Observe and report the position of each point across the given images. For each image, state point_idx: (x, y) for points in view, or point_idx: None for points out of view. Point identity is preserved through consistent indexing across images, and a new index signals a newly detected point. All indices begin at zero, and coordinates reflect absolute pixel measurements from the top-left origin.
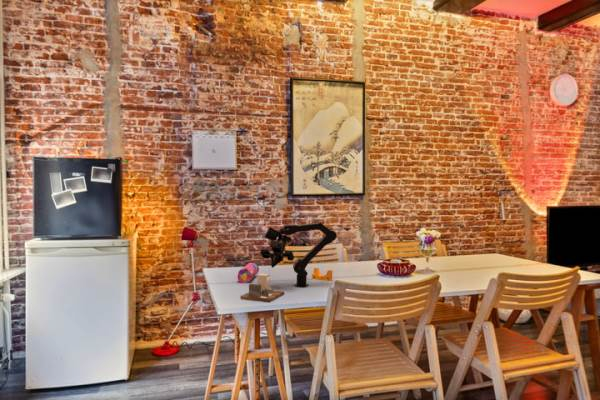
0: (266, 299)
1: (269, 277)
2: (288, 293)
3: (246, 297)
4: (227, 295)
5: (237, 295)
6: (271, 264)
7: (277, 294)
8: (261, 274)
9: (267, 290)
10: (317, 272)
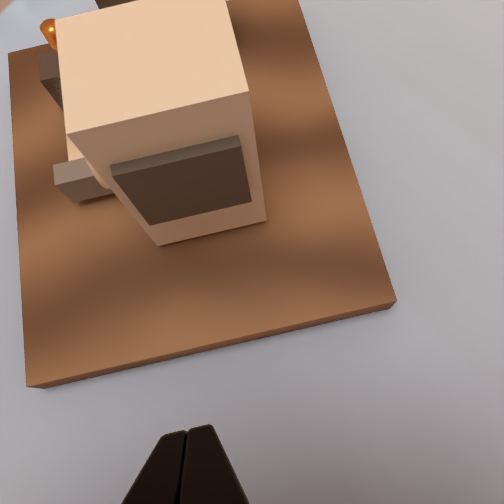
0: (39, 48)
1: (90, 159)
2: (21, 456)
3: (236, 4)
4: (478, 10)
5: (408, 61)
6: (223, 464)
7: (31, 226)
8: (181, 33)
9: (52, 72)
10: None
